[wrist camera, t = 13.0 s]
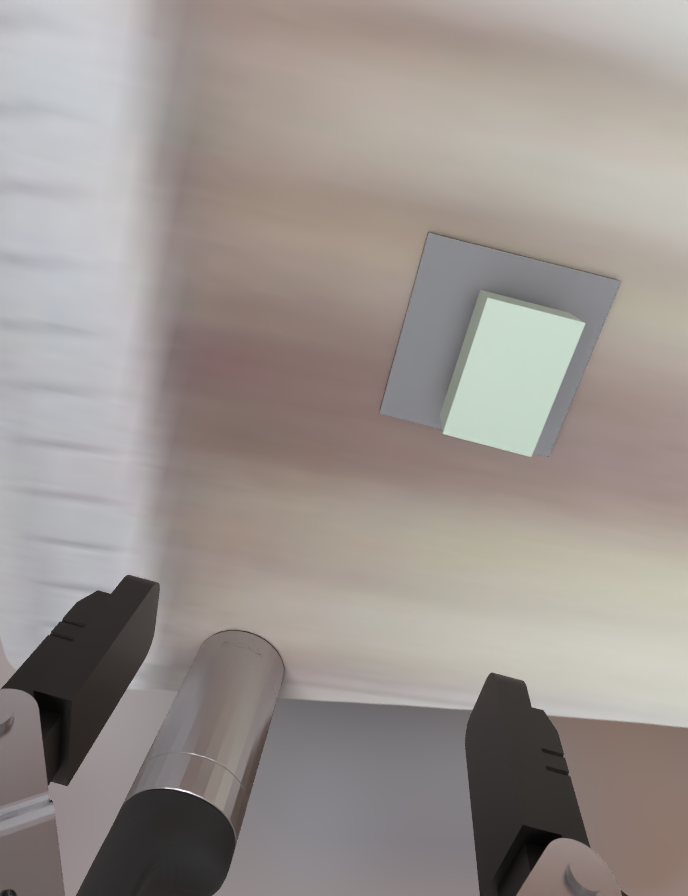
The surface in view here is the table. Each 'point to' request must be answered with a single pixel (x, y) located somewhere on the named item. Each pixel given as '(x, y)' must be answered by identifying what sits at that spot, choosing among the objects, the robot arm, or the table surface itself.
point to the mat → (449, 313)
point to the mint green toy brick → (509, 372)
